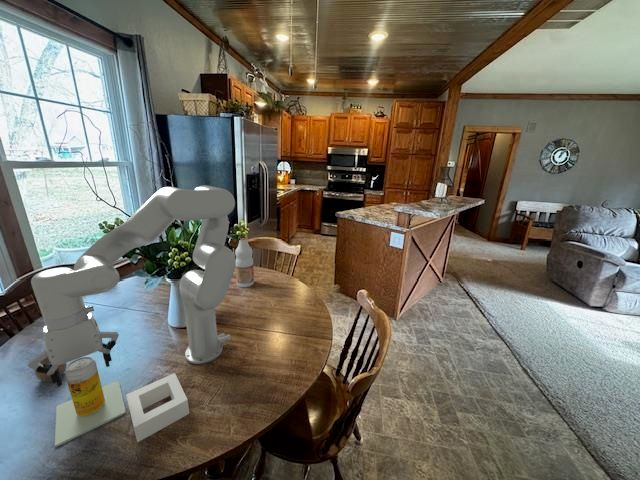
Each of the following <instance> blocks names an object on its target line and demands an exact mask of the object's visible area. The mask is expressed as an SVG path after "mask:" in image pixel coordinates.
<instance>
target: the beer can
mask: <svg viewBox="0 0 640 480" xmlns="http://www.w3.org/2000/svg"><path fill="white" fill-rule="evenodd" d="M96 362H97V361H96V360H95V359H93V357H91V356H84V357H81V358H78V359H75V360H73V361H70V362H69V364H68V365H67V367H66V371H65V372H64V376H65V379H66V383H67V386H68V389H69V394H70V397H71V400H73V404H74V407H75V411H76V414H77V415H78V416H82V417H87V416H91V415H93V414H95V413H96V412H98V411H99V410H100V409H101V408H102V406H103V405H104V403H105V398H104V394H103V390H102V387H103V386H102V383H101V379H100V374H99V370H98V367H97V363H96Z"/></svg>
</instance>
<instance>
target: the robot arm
mask: <svg viewBox="0 0 640 480" xmlns="http://www.w3.org/2000/svg"><path fill="white" fill-rule="evenodd" d="M234 197H235V196H234V195H233V194H232V193H231V192H230V191H229V190H228V189H225V188H222V187H217V186H216V187H215V186H212V185H205V184H204V185H200V186H197V187H195V188H194V189H183V188H179V187H175V186H164V187H161V188H160V189H158V190H157V191H155V192H154V194H152V195H151V197H150V198H148V200H146V201H145V203H143V204H141V206H140V207H139V208H138V209H137V210H136V211H135V212H134V213H133V214H132V215H130V217H129V218H128V219H127V220H125V221H124V222H123V223H121V224H119V225H118V226H115V228H113V229H112V230H110V231H109V232H107V233H106V234H104V235H102V236H101V237H100V238H99V239H97V240H96V241H95V242H94V243H93V244H92V245H91V246H90V247H89V248H87V250H86V251H84V252H83V253H82V254H81V255H80V256H79V258H78V259H77V260H76V262H75V263H74V266H73V268H70V267H65V266H64V267H54V268H48V269H46V270H43V271H39V272H38V273H36V274H34V275H33V277H32V278H31V280H30V283H31V288H32V290H33V293H34V296H35V298H36V302H37V304H38V307H39V310H40V313H41V315H42V319H43V321H44V324H45V325H44V326H43V328H42V331H43V341H44V347H45V350H43V351H41V352H40V353H39V354H37V355H36V356H34V357H33V358H31V360H29V361H28V363H27V367H28V368H30V369H32V370H33V371H35V370H36V371H37V372H40V373H46V374H47V375H50V377H51V379H52V381H51V382H52V384H55V383H56V385H57V387H61V386H62V385H63V377H62V376H61V374H60V371H59V368H58V366H59V365H61V364H64V363H66V364H67V363H71V362H73V361H75V360H77V359H79V358H83V357H87V356H89V355H92V354H94V353H97V352H99V353H102V357H103V360H104V363H105V367H106V368H109V367H110V362H112V360H113V359H112V356H111V351H112V349H113V348H114V347H115V345H116V344H117V341H118V338H119V332H118V331H100V327H99V325H98V322H97V321H96V318H95V317H94V315H93V314H92V313H91V312H95V308H94V306H93V305H91V306H87V305H86V303H85V301H84V298H83V297H87V296H92V295H99V294H103V293H106V292H109V291H112V290H113V289H114V288H115V287H116V286H118V284H119V282H120V274H119V271H118V270H117V269H116V268H115V267H114V265H115V264H116V263H117V262H118V261H119V260H120V259H121V258H122V257H123V256H124V255H125V254H127V253H128V252H130V251H132V250H133V249H135V248H139V247H143V246H147V245H150V244H153V243H154V242H156V240H158V238H159V237H160V236H161V235H162V234H163V233H164V232H165V231H166V230H167V229H168V228H169V227H170V226H171V225H172V223H174V222H175V221H176V220H177V221H182V222H183V221H184V222H186V221H199V220H201V226H200V230H199V234H198V237H197V240H196V242H195V247H194V249H193V251H192V260H193V262H194V264H196V265H197V266H198V267H200V268H201V269H202V270H201V269H193V270H192V269H191V270H189V271H187V272H185V273H184V274H183V275H182V277H181V278H180V281H179V292H180V296H181V297H180V298H181V301H182V304H183V309H184V315H185V325H186V332H187V343H188V347H187V348H186V349H185V352H184V358H185V360H186V361H187V362H188V363H191V364H193V365H202V364H206V363H210V362H212V361H215V360H216V359H217V358H218V357H219V356H220V355H221V354H222V352H223V347H224V345H223V343H224V342H227V341H229V340H232V339H231V338H232V336H231V335H230V334H227V335H226V334H225V332H223V333H220V334H219V335H218V330H217V329H218V328H217V318H216V316H217V315H216V308H218V307H219V306H220V305H221V304H222V303H223V302H224V300H225V298H226V297H227V293H228V291H229V287H230V284H231V281H232V278H233V276H234V272H235V269H236V254H235V252H233V250H232V249H230V247H228V246H225V244H226V241H227V236H228V232H229V226H230V225H229V217H228V215H230V214H231V213H232V212H233V210H234V209H235V205H236V201H235V198H234ZM203 270H204V271H203ZM103 339H110V340H109V341H108V342H107V343H104V342H103ZM46 357H48V358H49V361H50V364H49V365H47V364H41V363H39V362H41V361H42V360H44V359H45V358H46Z"/></svg>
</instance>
